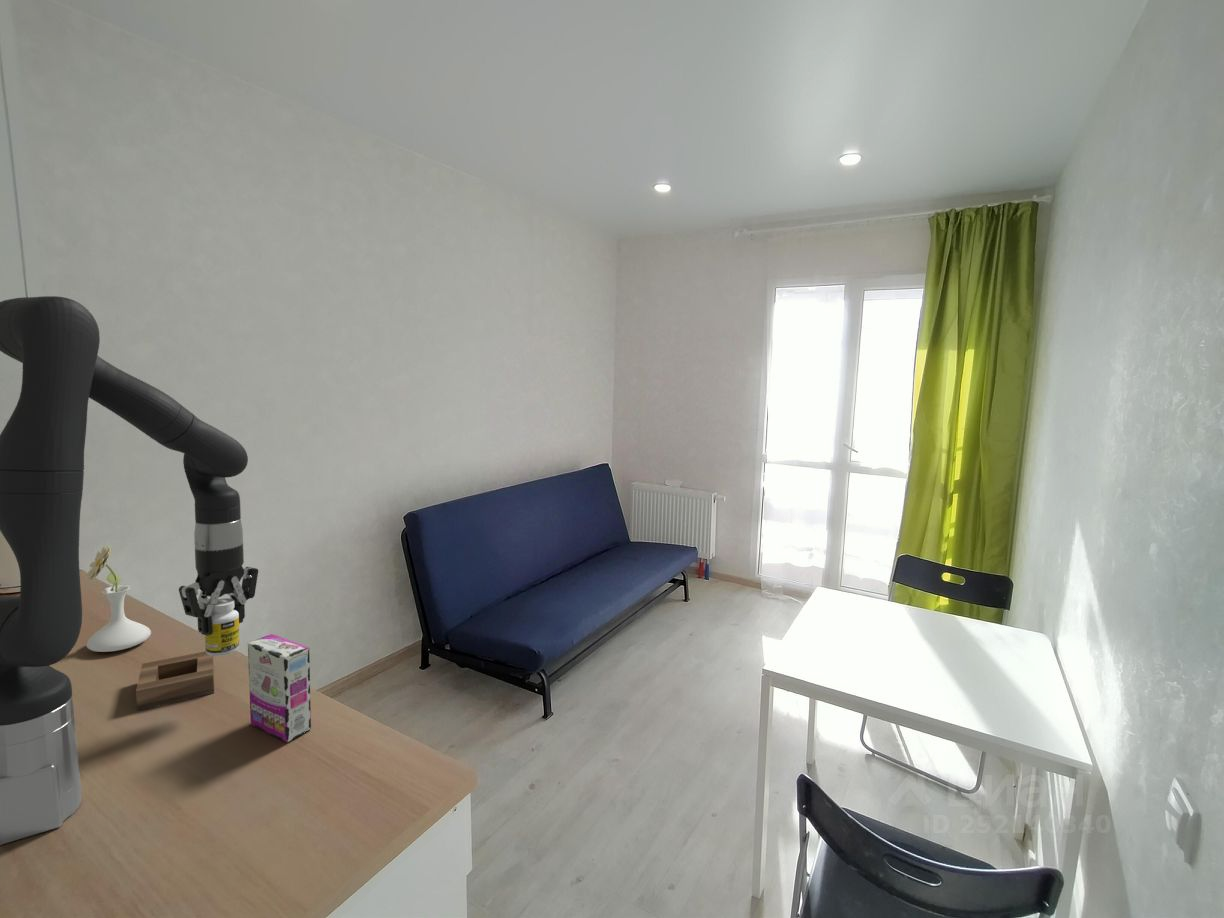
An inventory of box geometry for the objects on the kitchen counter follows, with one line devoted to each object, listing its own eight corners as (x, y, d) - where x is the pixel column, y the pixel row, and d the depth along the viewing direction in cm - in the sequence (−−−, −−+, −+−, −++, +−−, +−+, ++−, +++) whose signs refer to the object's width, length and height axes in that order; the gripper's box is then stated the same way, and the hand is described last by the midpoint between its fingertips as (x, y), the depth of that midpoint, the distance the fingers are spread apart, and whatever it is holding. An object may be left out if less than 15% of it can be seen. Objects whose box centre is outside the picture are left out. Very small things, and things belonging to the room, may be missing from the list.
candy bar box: (313, 729, 104) (311, 646, 102) (287, 744, 100) (284, 658, 97) (275, 711, 109) (272, 632, 107) (249, 724, 105) (245, 642, 102)
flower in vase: (96, 638, 133) (88, 537, 130) (157, 631, 138) (150, 533, 135) (75, 664, 122) (65, 554, 118) (142, 655, 127) (134, 549, 123)
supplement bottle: (222, 658, 105) (220, 609, 104) (198, 654, 106) (196, 605, 105) (246, 646, 110) (245, 598, 109) (223, 642, 111) (221, 595, 110)
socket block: (214, 692, 114) (213, 674, 113) (137, 710, 107) (135, 691, 106) (213, 666, 124) (213, 649, 123) (143, 681, 117) (142, 663, 116)
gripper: (193, 556, 98) (197, 647, 100) (268, 537, 111) (270, 618, 113) (164, 549, 100) (169, 639, 102) (241, 532, 114) (244, 611, 116)
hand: (222, 627), depth 108 cm, fingers closed on supplement bottle, 5 cm apart
